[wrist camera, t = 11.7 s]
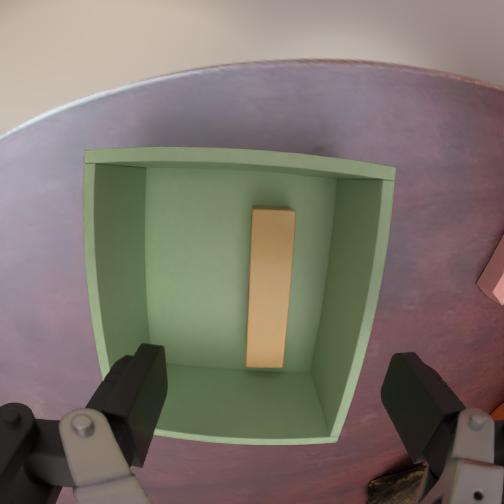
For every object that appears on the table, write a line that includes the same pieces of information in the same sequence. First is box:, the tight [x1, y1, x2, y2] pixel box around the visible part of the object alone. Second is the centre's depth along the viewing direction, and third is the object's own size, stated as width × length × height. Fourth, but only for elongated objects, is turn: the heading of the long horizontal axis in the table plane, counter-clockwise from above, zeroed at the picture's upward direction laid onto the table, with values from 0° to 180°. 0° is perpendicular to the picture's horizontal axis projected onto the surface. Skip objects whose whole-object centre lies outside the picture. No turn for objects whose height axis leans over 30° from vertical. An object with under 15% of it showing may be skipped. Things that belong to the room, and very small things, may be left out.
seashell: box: [367, 465, 428, 504], centre depth 25 cm, size 16×9×7 cm, turn 12°
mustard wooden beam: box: [246, 205, 296, 368], centre depth 19 cm, size 10×2×2 cm, turn 178°
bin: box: [83, 147, 396, 445], centre depth 17 cm, size 15×13×8 cm
